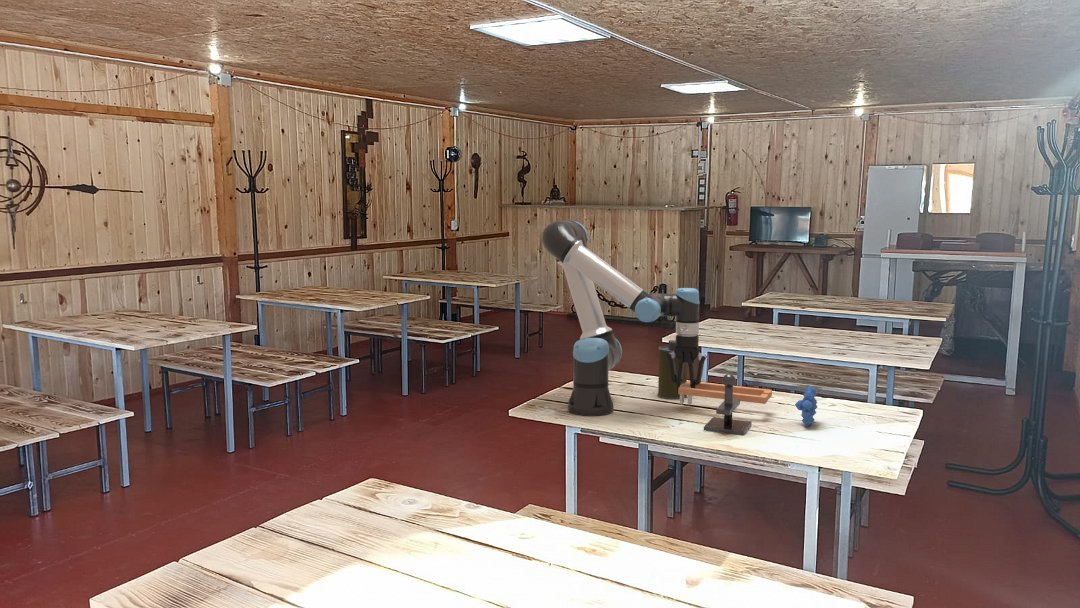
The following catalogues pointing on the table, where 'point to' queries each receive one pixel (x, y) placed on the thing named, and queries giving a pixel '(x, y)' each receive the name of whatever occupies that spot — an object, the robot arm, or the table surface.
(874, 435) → the table surface
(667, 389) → the canister
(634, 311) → the robot arm
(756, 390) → the link
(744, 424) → the stand
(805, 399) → the grapes
